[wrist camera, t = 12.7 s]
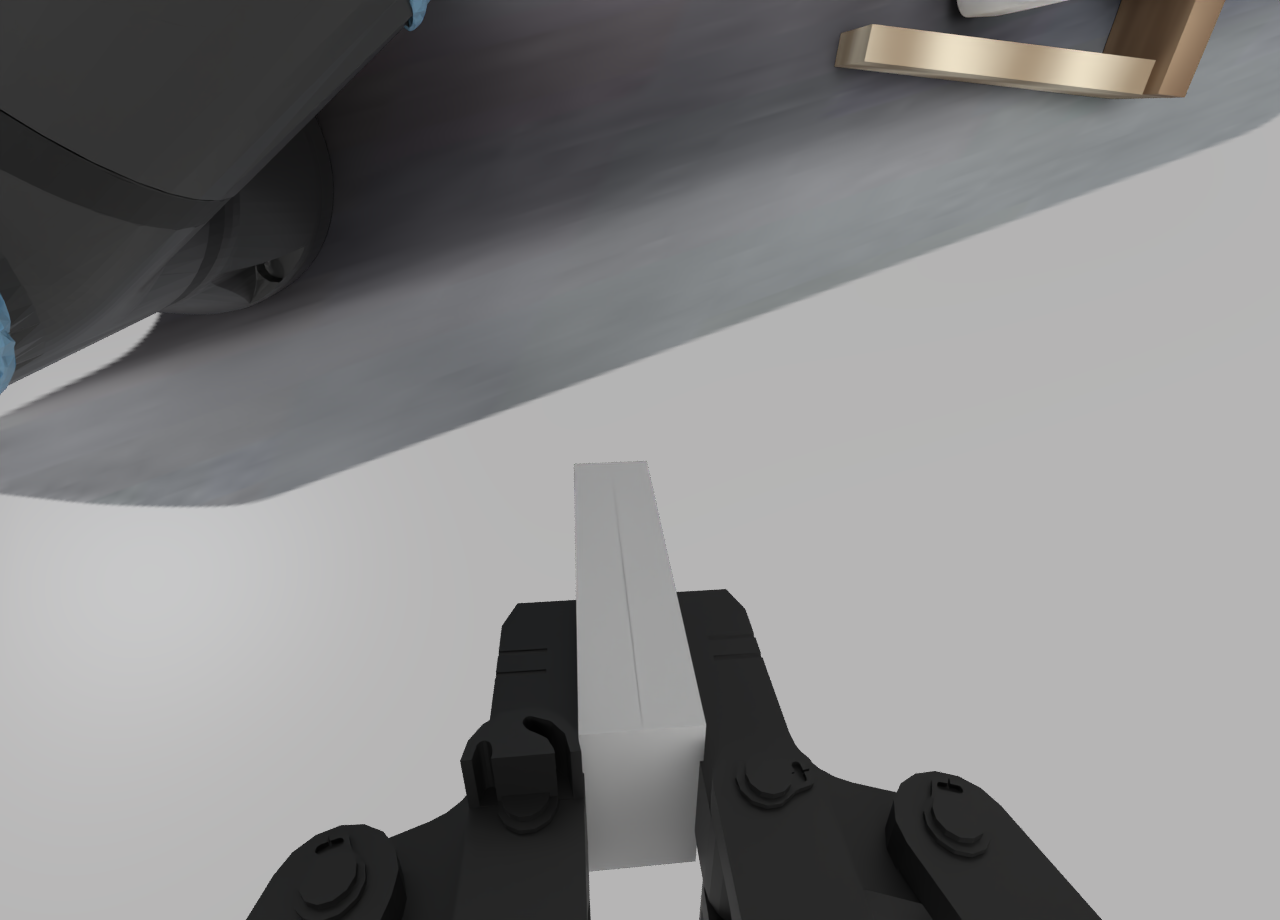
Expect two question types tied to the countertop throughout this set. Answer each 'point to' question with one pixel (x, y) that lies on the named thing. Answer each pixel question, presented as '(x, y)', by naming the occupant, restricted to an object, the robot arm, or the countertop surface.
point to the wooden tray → (1053, 54)
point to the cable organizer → (998, 6)
